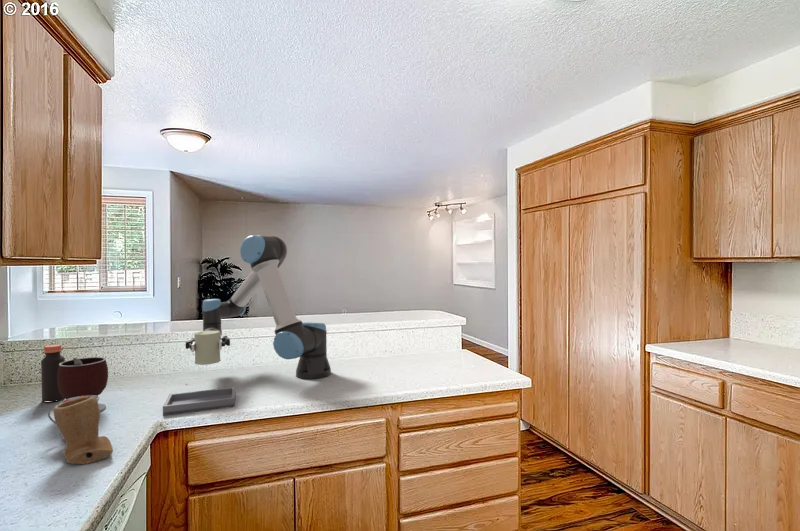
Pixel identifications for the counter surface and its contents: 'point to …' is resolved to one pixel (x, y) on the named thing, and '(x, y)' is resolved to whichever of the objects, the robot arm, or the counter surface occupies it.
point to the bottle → (51, 373)
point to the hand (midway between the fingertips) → (206, 347)
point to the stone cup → (82, 430)
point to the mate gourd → (83, 377)
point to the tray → (199, 401)
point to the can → (207, 347)
